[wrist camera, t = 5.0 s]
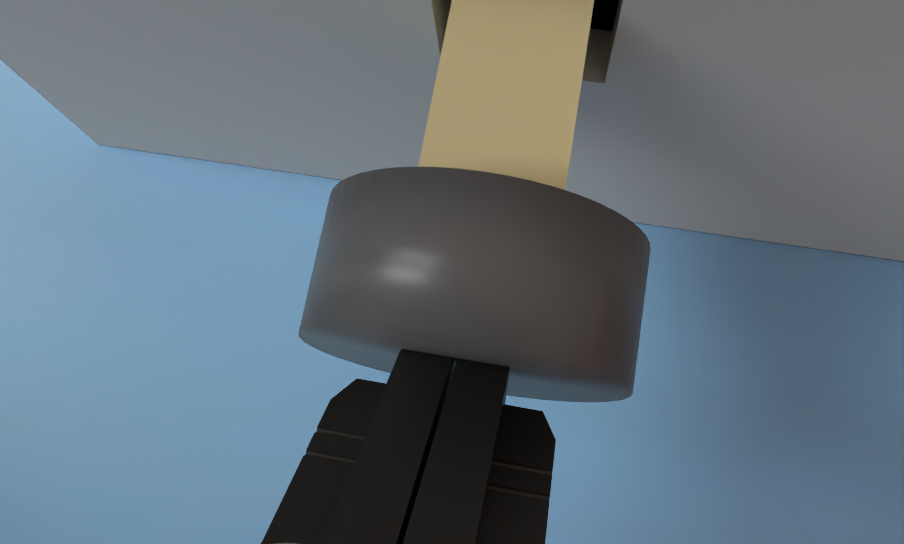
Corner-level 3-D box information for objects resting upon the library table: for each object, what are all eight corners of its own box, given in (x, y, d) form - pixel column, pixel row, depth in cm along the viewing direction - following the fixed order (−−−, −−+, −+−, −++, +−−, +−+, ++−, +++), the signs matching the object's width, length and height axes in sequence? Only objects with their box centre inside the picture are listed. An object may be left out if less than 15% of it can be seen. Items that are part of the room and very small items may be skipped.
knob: (335, 367, 14) (256, 303, 10) (423, -45, 16) (390, -251, 12) (611, 413, 14) (660, 370, 9) (667, -17, 16) (729, -223, 11)
